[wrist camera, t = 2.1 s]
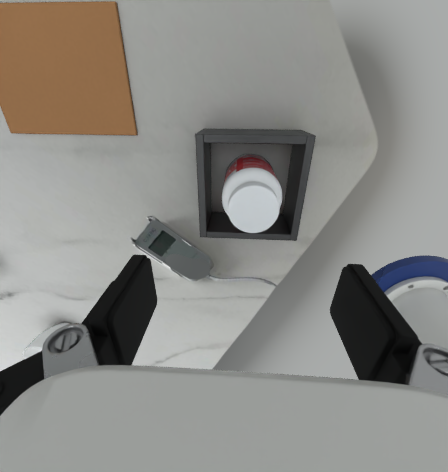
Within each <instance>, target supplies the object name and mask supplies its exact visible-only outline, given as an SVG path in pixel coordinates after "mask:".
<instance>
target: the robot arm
mask: <svg viewBox="0 0 448 472" xmlns="http://www.w3.org/2000/svg"><path fill="white" fill-rule="evenodd" d="M156 305H157V295H156V289H155V284H154V278H153V272H152V266H151V260H150V259H149V258H147V257H146V255H133V256H132V257H131V259H130V260H129V261H128V263H127V264H126V266H125V267H124V268H123V270H122V271H121V273H120V274H119V275H118V277H117V278H116V279H115V281H113V282H112V283H111V284H110V285H109V286H108V288H107V289H106V291H105V292H104V293H103V295H102V296H101V297H100V299H99V300H98V302H97V303H96V304H95V306H94V307H93V308H92V310H91V311H90V313H89V314H88V315H87V317H86V318H85V319H84V321H83V322H82V323H81V324H79V323H74V324H68V325H65V326H63V327H61V328H59V329H57V330H55V331H54V332H53V333H51V334H50V335H49V336H48V338H47V339H46V340H45V342H44V344H43V347H42V351H40V352H38V353H36V354H34V355H32V356H30V357H28V358H26V359H24V360H22V361H20V362H18V363H16V364H14V365H12V366H10V367H8V368H6V369H4V370H2V371H0V472H448V282H446V281H445V280H443V279H440V278H436V277H427V276H424V277H415V278H411V279H407V280H404V281H401V282H399V283H397V284H395V285H393V286H392V287H390V288H389V289H387V290H386V291H385V292H383V291H382V289H381V288H380V287H379V285H378V284H377V283H376V281H375V280H374V279H373V278H372V276H371V275H370V274H369V272H368V271H367V270H366V269H365V267H364V266H363V265H359V264H348V265H347V266H346V267H344V268H343V269H342V272H341V276H340V279H339V282H338V285H337V288H336V291H335V294H334V298H333V301H332V304H331V307H330V313H331V316H332V319H333V321H334V323H335V326H336V328H337V330H338V333H339V335H340V337H341V340H342V342H343V344H344V347H345V349H346V351H347V354H348V356H349V358H350V360H351V363H352V365H353V367H354V370H355V372H356V374H357V376H358V379H359V380H354V379H342V378H328V377H313V376H299V375H284V374H270V373H255V372H239V371H224V370H208V369H191V368H174V367H157V366H133V365H132V362H133V360H134V358H135V355H136V353H137V350H138V348H139V346H140V343H141V341H142V339H143V336H144V334H145V331H146V329H147V327H148V324H149V322H150V319H151V317H152V315H153V312H154V310H155V308H156Z"/></svg>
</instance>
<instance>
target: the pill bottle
mask: <svg viewBox="0 0 448 472" xmlns="http://www.w3.org/2000/svg"><path fill="white" fill-rule="evenodd" d="M281 203H282V189H281V186H280V183H279V181H278V179H277V177H276V175H275V174H274V171H273V169H272V167H271V166H270V164H269V163H268V162H267V161H266V160H265V159H264V158H263V157H261V156H258V155H255V154H246V155H242V156H240V157H238V158H236V159H235V160H234V161H233V162H232V163H231V164H230V166H229V167H228V169H227V172H226V176H225V181H224V186H223V191H222V204H223V208H224V210H225V212H226V214H227V215H228V216H229V219H230V221H231V222H232V224H233V225H234V226H235V227H236V228H238V229H239V230H241V231H244V232H247V233H258V232H262V231H264V230H266V229H268V228H270V227H271V226H272V225H273V224H274V223H275V221H276V220H277V218H278V215H279V209H280V206H281Z"/></svg>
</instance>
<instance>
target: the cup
mask: <svg viewBox="0 0 448 472" xmlns="http://www.w3.org/2000/svg"><path fill="white" fill-rule="evenodd" d="M68 324H70V323H60V324H57V325H55V326H52V327H50V328H48V329H47V330H45V331H43V332H42V333H41V334H39V335H38V336H37V337H36V338H35V339H34V340H33V341H32V342H31V343H30V344H29V345H28V346H27V347H26V349H25V350H24V351H23V358H24V359H26V358H28V357H30V356H32V355H34V354H36V353H38V352H40V351H42V347H43V344H44V342H45V340H46V339H47V338H48V336H49V335H50V334H51V333H53V332H54V331H55V330H57V329H59V328H61V327H63V326H65V325H68Z"/></svg>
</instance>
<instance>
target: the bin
mask: <svg viewBox="0 0 448 472" xmlns="http://www.w3.org/2000/svg"><path fill="white" fill-rule="evenodd" d="M195 136H196V158H197V179H198V200H199V222H200V237H210V238H238V239H266V240H294V241H296V240H297V236H298V230H299V225H300V219H301V214H302V208H303V203H304V197H305V192H306V186H307V181H308V175H309V170H310V164H311V159H312V153H313V148H314V142H315V137H316V136H315V135H312V134H310V133H307V132H305V131H302V130H260V129H203V130H201V131H200V132H198V133H196V134H195ZM210 143H255V144H293V146H292V153H291V160H290V167H289V174H288V181H287V188H286V195H285V202H284V209H283V214H279V215H278V218H277V220H276V221H275V223H274V224H273V225H272V226H271V227H270V228H268V229H266V230H264V231H262V232H258V233H247V232H244V231H241V230H239V229H238V228H236V227H235V226H234V225H233V224H232V222H231V221H230V219H229V216H228V215H227V214H226V213H222V212H212V204H211V151H210Z"/></svg>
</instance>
